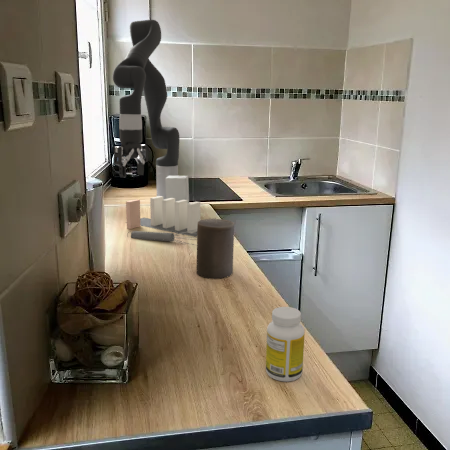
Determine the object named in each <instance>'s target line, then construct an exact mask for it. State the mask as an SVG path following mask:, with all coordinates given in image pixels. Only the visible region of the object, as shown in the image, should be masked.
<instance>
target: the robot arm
mask: <svg viewBox="0 0 450 450" xmlns="http://www.w3.org/2000/svg"><path fill="white" fill-rule="evenodd" d="M129 36H130V40H131V41H130V42H131V44H132V45H131V46H132V47H130V49H129V50H128V52H127V55H126V56H125V58H124V59H122V61H121V62H119V63H118V64H117V65H116V66H115V68H114V69H113V73H112V81H113V83H114V85H115V86H116V87H117V88H119V89H133V91H132V93H131V94H128V95H123V96H120V98H119V101H118V102H119V103H118V104H119V121H118V123H119V125H118V127H119V142H120V143H121V146H114V147H113V165H116V166H118V175H119V177H120V178H127V167H126V165H127V163H128V162H129V161H130V159H131V160H132V159H135V161H136V162H137V164H136V165H137V175H139V176H144V173H145V163H147V162H149V149H148V144H141V143H142V142H143V120H142V119H143V118H142V97H143V95H144V100H145V105H146V110H147V114H148V122H149V130H150V131H149V132H150V137H151V142H152V145H153V147H155V148H156V149H160V150H166V153H165V154H164V155H163V156H160V157H157V158H156V160H155V167H156V168H155V169H156V173H155V175H156V176H155V179H156V197H157V196H163V200H164V199H166V181H165V178H167V177H168V176H179V157H180V156H179V155H180V133H179V130H178V128H176V127H173V126H172V127H171V126H163V125H162V121H161V116H162V115H161V114H162V112H163V109H164V107H165V105H166V102H167V100H168V90H167V85H166V80H165V78H164V76H163V74H162V73H161V72H160V71H159V70H158V68H156V66H155V65H154V63H153V62H151V60H150V59H149V58H150V57H151V55H152V54H153V53H154V52H155V51H156V49H157V48H158V46H159V45H160V44H161V41H162V29H161V26H160V23H159V22H158V21H157V20H156V19H144V20H143V19H142V20H136V21H132V22H130V24H129Z"/></svg>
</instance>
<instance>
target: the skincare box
mask: <svg viewBox="0 0 450 450" xmlns="http://www.w3.org/2000/svg"><path fill="white" fill-rule="evenodd" d="M165 181H166V199H168V198H175V202H176V201H180V200H188V204H189V203H190V194H189V193H190V191H189V189H190V188H189V186H190V185H189V175H178V176H168V177H167V178H165Z"/></svg>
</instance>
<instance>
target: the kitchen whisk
mask: <svg viewBox="0 0 450 450" xmlns="http://www.w3.org/2000/svg"><path fill="white" fill-rule="evenodd" d="M130 232H131V233H130ZM187 232H188V231H186V232H184V233H187ZM191 232H195V231H193V230H191ZM129 233H130V237H131V238H132V239H139V240H147V241H158V242H176V243H179V244H181V245H183V246H185V245H187V244H188V245H190V243H189V242H184V241H180V240H178V239H176V238H175V237H179V239H182V240H186V239H190V240H192V241H197V237H194V236H188V235H187V234H182V233H183V232H182V233H180V234H179V233H175V234H174V232H159V231H158V232H157V231H141V230H140V231H139V230H138V231H137V230H133V231H132V230H130V231H128V232H127V234H126V236H127V238H128V237H129V235H128V234H129ZM193 234H197V233H193ZM180 235H182V236H184V237H180ZM185 235H186V236H185ZM191 245H193V246H195V244H192V243H191Z"/></svg>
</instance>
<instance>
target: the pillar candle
mask: <svg viewBox="0 0 450 450" xmlns="http://www.w3.org/2000/svg"><path fill="white" fill-rule="evenodd" d="M234 239H235V222H233V221H231V220H227V219H223V218H216V217H214V218H205V219H204V218H203V219H200V221H198V225H197V238H196V274H197V275H198V276H200V277H203V278H205V279H209V278H220V279H224V278H223V277H226V278H228V277H227V276H229V277H231V276H232V275H233V273H234V272H233V270H234V269H233V268H234V248H235V247H234V246H235V245H234V244H235V241H234ZM231 274H232V275H231ZM230 275H231V276H230Z"/></svg>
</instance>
